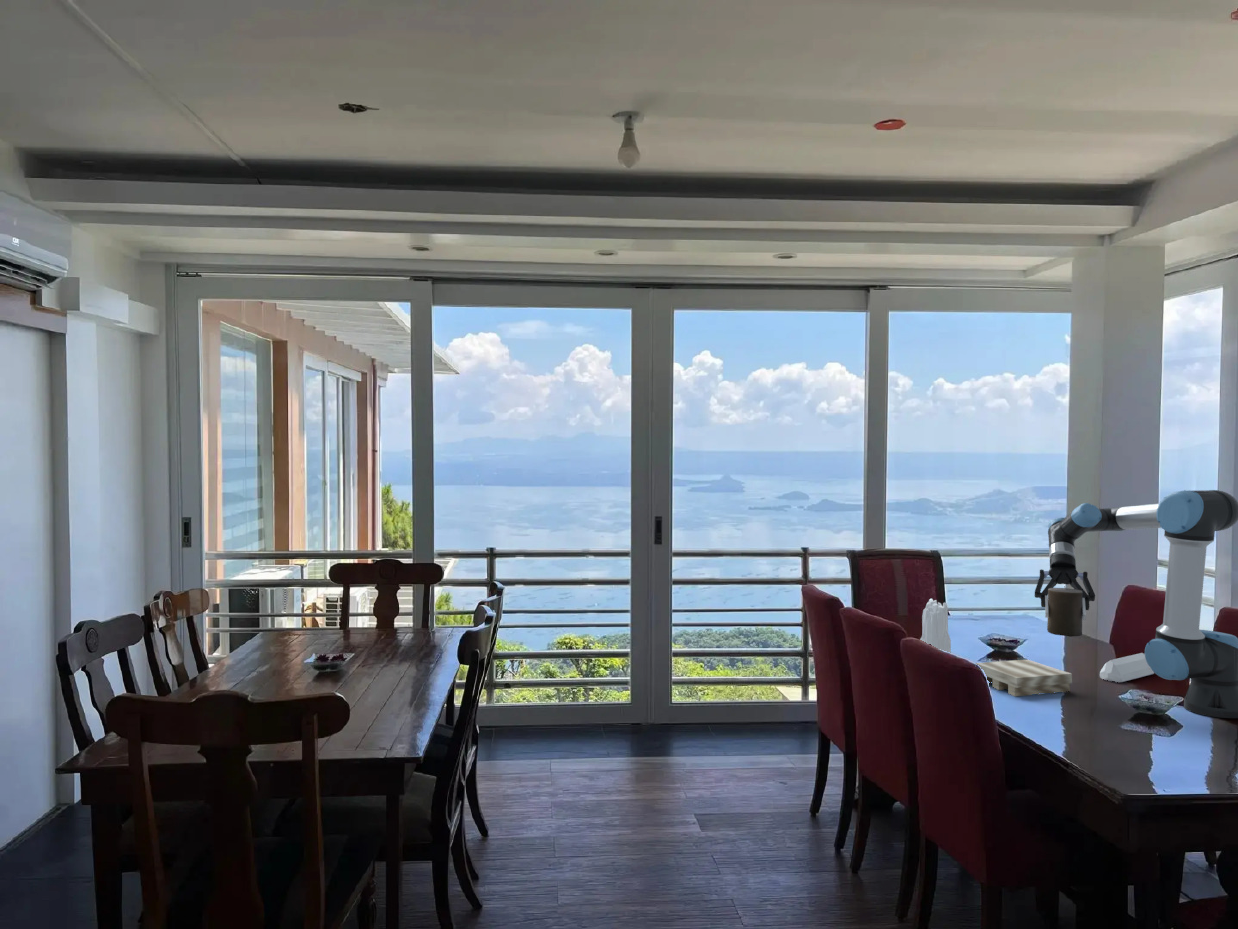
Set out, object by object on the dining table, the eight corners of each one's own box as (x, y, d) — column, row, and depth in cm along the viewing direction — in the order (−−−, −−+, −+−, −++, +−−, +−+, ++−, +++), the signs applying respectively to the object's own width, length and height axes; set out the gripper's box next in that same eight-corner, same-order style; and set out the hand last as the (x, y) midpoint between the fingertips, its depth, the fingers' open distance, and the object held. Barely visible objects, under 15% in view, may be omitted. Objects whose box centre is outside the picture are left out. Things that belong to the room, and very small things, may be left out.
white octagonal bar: (1124, 674, 270) (1163, 664, 283) (1105, 659, 276) (1143, 650, 288) (1113, 691, 274) (1152, 681, 286) (1094, 676, 279) (1133, 667, 291)
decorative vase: (953, 676, 284) (952, 603, 284) (919, 674, 288) (919, 601, 288) (951, 668, 295) (950, 598, 295) (919, 666, 298) (918, 597, 298)
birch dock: (1027, 677, 282) (1027, 659, 282) (1072, 692, 263) (1071, 673, 263) (975, 681, 278) (975, 663, 278) (1017, 697, 258) (1016, 678, 258)
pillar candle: (1067, 638, 255) (1068, 589, 255) (1040, 631, 264) (1040, 584, 264) (1089, 635, 259) (1090, 587, 259) (1061, 629, 268) (1062, 582, 268)
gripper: (1100, 568, 271) (1105, 626, 257) (1024, 564, 280) (1025, 620, 266) (1102, 553, 266) (1107, 612, 252) (1024, 550, 275) (1025, 606, 261)
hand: (1065, 616), depth 259 cm, fingers closed on pillar candle, 10 cm apart
